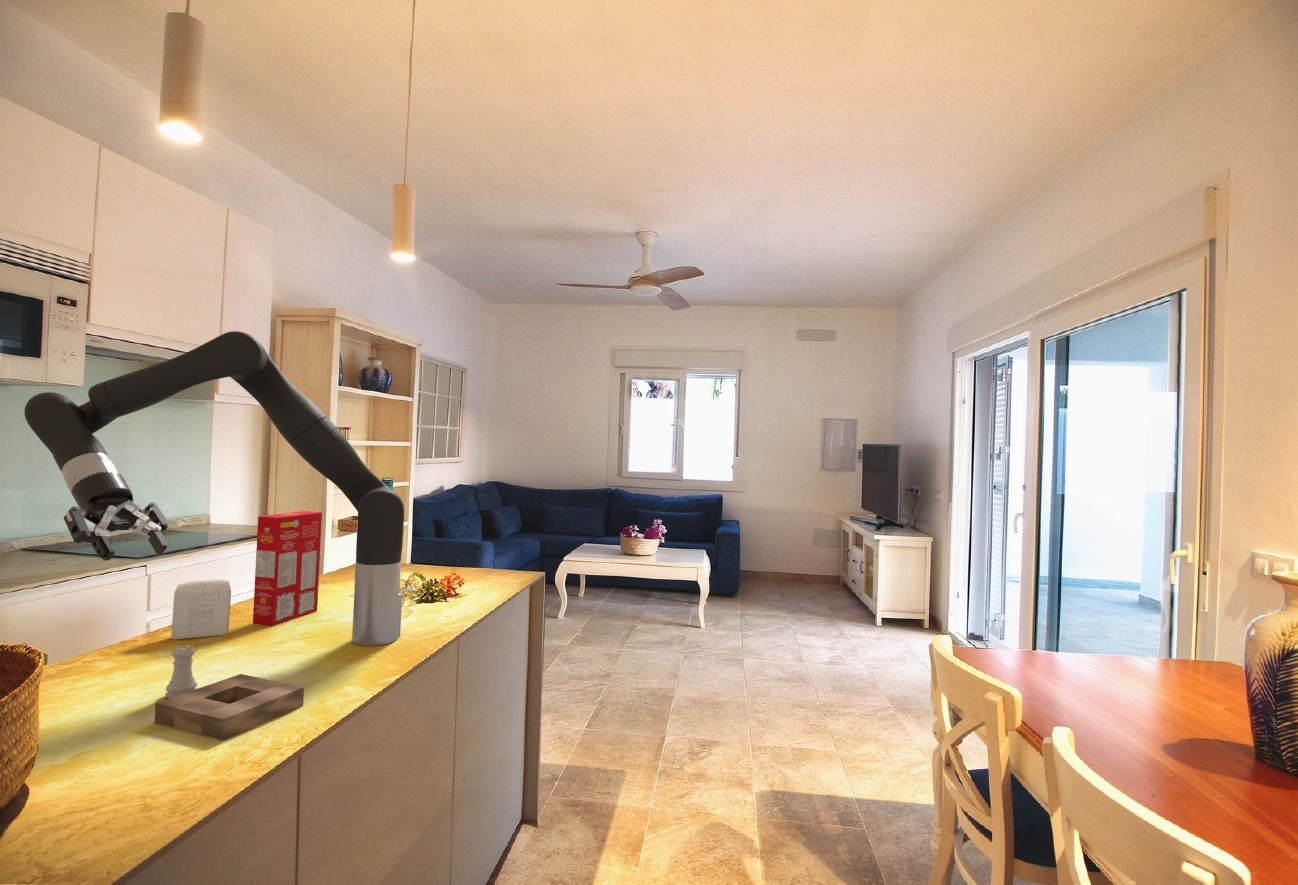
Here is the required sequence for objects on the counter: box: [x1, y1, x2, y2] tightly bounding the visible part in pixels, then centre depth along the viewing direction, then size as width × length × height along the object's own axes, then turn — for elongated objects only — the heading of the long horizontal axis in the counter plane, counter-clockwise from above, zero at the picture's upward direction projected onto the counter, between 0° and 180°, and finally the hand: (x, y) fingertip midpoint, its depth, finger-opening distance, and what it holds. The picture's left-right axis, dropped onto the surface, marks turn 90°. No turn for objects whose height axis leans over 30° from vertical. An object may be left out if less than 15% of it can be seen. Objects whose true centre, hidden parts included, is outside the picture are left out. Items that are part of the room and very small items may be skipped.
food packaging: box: [252, 510, 323, 627], centre depth 157 cm, size 15×5×25 cm, turn 169°
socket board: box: [153, 673, 305, 741], centre depth 102 cm, size 14×14×3 cm
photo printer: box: [170, 577, 232, 640], centre depth 140 cm, size 10×4×12 cm, turn 123°
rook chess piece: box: [164, 644, 198, 699], centre depth 108 cm, size 4×4×8 cm
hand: (137, 554), depth 112 cm, fingers open, 8 cm apart
